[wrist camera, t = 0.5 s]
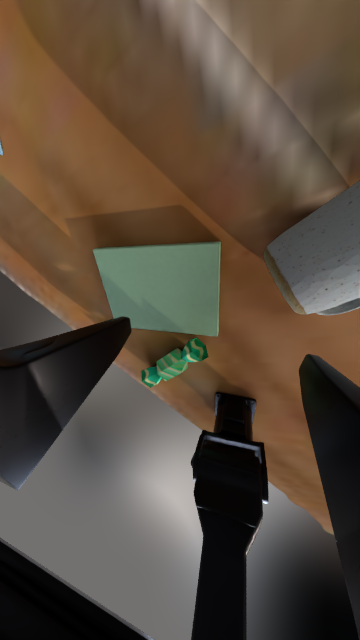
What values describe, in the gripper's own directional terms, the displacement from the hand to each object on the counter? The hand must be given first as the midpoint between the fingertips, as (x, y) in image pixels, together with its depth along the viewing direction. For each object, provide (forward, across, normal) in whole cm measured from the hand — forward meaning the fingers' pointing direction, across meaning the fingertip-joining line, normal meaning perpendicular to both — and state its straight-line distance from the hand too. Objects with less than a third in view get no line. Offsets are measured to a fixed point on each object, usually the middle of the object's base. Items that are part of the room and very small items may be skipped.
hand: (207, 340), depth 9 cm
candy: (+14, +6, +15) cm, 22 cm away
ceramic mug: (+14, -9, -2) cm, 17 cm away
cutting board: (+14, +8, +4) cm, 17 cm away
